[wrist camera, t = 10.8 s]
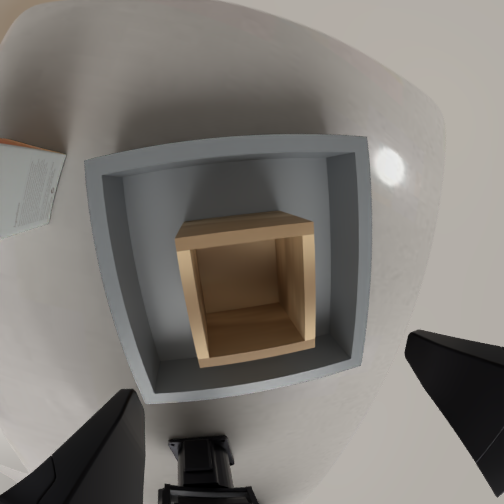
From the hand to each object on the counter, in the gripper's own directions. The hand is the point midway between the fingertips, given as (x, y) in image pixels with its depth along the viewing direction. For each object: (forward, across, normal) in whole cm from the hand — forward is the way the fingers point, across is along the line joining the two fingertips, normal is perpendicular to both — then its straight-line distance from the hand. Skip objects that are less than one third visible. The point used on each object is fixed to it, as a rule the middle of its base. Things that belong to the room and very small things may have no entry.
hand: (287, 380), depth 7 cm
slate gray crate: (+13, 0, 0) cm, 13 cm away
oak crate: (+12, 0, 0) cm, 12 cm away
